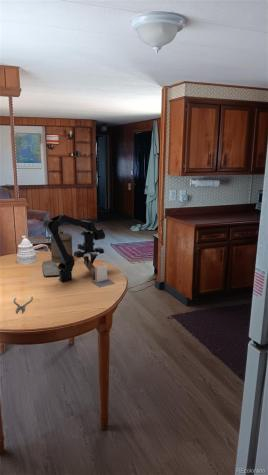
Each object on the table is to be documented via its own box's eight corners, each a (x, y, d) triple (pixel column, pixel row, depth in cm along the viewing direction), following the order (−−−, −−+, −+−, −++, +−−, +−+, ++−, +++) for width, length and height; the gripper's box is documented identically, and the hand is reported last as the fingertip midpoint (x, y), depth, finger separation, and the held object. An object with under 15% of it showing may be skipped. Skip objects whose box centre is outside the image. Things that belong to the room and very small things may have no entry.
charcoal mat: (99, 288, 197) (99, 287, 197) (90, 282, 206) (90, 281, 206) (115, 284, 203) (115, 283, 203) (106, 278, 212) (106, 278, 212)
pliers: (32, 295, 186) (37, 310, 168) (32, 296, 186) (37, 311, 168) (12, 297, 182) (16, 313, 164) (13, 299, 182) (16, 315, 164)
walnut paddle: (81, 263, 220) (82, 257, 217) (89, 261, 223) (90, 255, 221) (92, 279, 210) (94, 273, 207) (101, 277, 213) (102, 271, 211)
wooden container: (73, 256, 257) (72, 227, 252) (71, 262, 243) (70, 232, 237) (53, 257, 256) (52, 227, 251) (49, 263, 242) (48, 232, 237)
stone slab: (56, 259, 243) (60, 272, 215) (57, 264, 244) (60, 276, 215) (41, 261, 240) (43, 273, 212) (41, 265, 241) (43, 278, 213)
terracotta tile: (97, 282, 205) (96, 267, 203) (95, 281, 206) (95, 266, 204) (107, 279, 209) (107, 265, 207) (105, 278, 210) (105, 264, 208)
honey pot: (14, 261, 246) (12, 236, 242) (31, 257, 254) (29, 233, 250) (22, 265, 237) (20, 239, 233) (39, 261, 245) (38, 236, 241)
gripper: (95, 237, 226) (95, 259, 229) (69, 240, 215) (70, 264, 219) (104, 240, 217) (104, 264, 221) (77, 244, 206) (78, 269, 210)
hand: (89, 265), depth 218 cm, fingers closed on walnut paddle, 2 cm apart
